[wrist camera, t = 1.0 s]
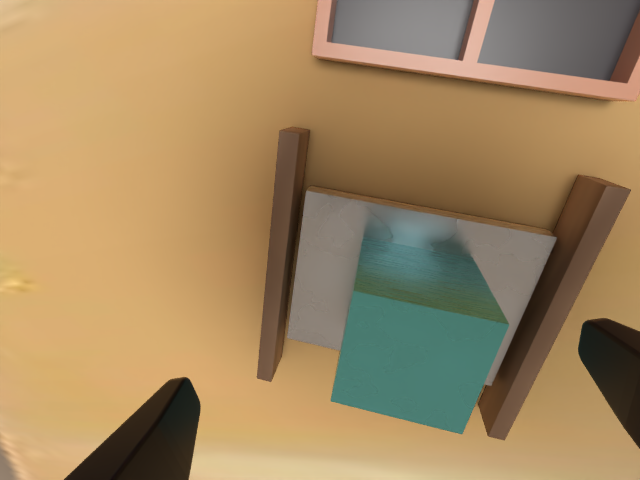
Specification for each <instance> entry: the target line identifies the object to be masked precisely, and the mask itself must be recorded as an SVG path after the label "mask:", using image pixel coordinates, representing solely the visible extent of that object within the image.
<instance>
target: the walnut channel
mask: <svg viewBox="0 0 640 480" xmlns="http://www.w3.org/2000/svg"><path fill="white" fill-rule="evenodd" d="M309 133H310V130H308V129H302V128H296V127H290V128H287V129H283V130H280V131H279V142H278V153H277V164H276V175H275V186H274V197H273V208H272V219H271V229H270V240H269V251H268V262H267V273H266V284H265V295H264V306H263V317H262V328H261V339H260V350H259V360H258V371H257V378H258V379H262V380H266V381H270V382H271V381H272V379H273V376H274V374H275V372H276V369H277V367H278V364H279V362H280V359H281V357H282V350H283V342H284V334H285V326H286V318H287V310H288V302H289V293H290V285H291V277H292V269H293V261H294V253H295V245H296V237H297V229H298V221H299V213H300V205H301V197H302V189H303V181H304V173H305V165H306V157H307V149H308V141H309ZM630 191H631V190H630V189H627V188H625V187H622V186H619V185H616V184H614V183H611V182H608V181H606V180H603V179H600V178H595V177H589V176H583V175H578V177H577V179H576V181H575V184H574V186H573V188H572V191H571V193H570V195H569V198H568V200H567V202H566V204H565V207H564V209H563V211H562V214H561V216H560V218H559V220H558V223H557V225H556V227H555V230H554V232H553V234H554V235H555V236H556V237H557V239H556V242H555V244H554V246H553V248H552V251H551V253H550V255H549V257H548V260H547V262H546V264H545V266H544V269H543V271H542V273H541V275H540V278H539V280H538V282H537V284H536V287H535V289H534V291H533V293H532V296H531V298H530V300H529V302H528V305H527V307H526V309H525V311H524V314H523V316H522V318H521V320H520V323H519V325H518V327H517V329H516V332H515V334H514V336H513V338H512V341H511V343H510V345H509V347H508V350H507V352H506V354H505V356H504V359H503V361H502V363H501V365H500V368H499V370H498V372H497V374H496V377H495V379H494V381H493V383H492V386H489V385H486V388H485V390H484V392H483V394H482V397H481V399H480V401H479V404H478V405H479V408H480V412H481V415H482V418H483V422H484V425H485V428H486V432H487V435H488V436H489V437H493V438H497V439H501V440H505V438H506V436H507V435H508V433H509V431H510V429H511V427H512V425H513V423H514V421H515V419H516V417H517V415H518V413H519V411H520V409H521V407H522V405H523V403H524V401H525V399H526V397H527V395H528V393H529V391H530V389H531V387H532V385H533V383H534V381H535V379H536V377H537V375H538V373H539V371H540V369H541V367H542V365H543V363H544V361H545V359H546V357H547V355H548V353H549V351H550V349H551V347H552V345H553V344H554V342H555V340H556V338H557V336H558V334H559V332H560V330H561V328H562V326H563V324H564V322H565V320H566V318H567V316H568V314H569V312H570V310H571V308H572V306H573V304H574V302H575V300H576V298H577V296H578V294H579V292H580V290H581V288H582V286H583V284H584V282H585V280H586V278H587V276H588V274H589V272H590V270H591V268H592V266H593V264H594V262H595V260H596V258H597V256H598V254H599V253H600V251H601V249H602V247H603V245H604V243H605V241H606V239H607V237H608V235H609V233H610V231H611V229H612V227H613V225H614V223H615V221H616V219H617V217H618V215H619V213H620V211H621V209H622V207H623V205H624V203H625V201H626V199H627V197H628V195H629V193H630Z"/></svg>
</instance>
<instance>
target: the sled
mask: <svg viewBox="0 0 640 480" xmlns="http://www.w3.org/2000/svg"><path fill="white" fill-rule="evenodd" d="M556 239H557V237H556V236H555V235H554V234H552V233H551V232H550V231H549V230H547V229H542V228H537V227H531V226H526V225H521V224H515V223H510V222H504V221H499V220H494V219H488V218H483V217H477V216H472V215H466V214H461V213H456V212H450V211H445V210H439V209H434V208H429V207H423V206H418V205H412V204H407V203H402V202H396V201H391V200H385V199H380V198H374V197H369V196H364V195H358V194H353V193H347V192H342V191H337V190H331V189H326V188H320V187H315V186H310V187H309V188H308V189H307V190H306V195H305V203H304V211H303V219H302V226H301V234H300V242H299V250H298V258H297V265H296V273H295V281H294V289H293V296H292V304H291V312H290V320H289V327H288V335H287V338H289V339H293V340H297V341H302V342H306V343H310V344H314V345H319V346H323V347H327V348H331V349H336V350H340V353H339V359H338V364H337V369H336V375H335V380H334V385H333V391H332V396H331V401H332V402H336V403H340V404H344V405H348V406H352V407H356V408H359V409H363V410H367V411H371V412H375V413H379V414H383V415H387V416H391V417H395V418H399V419H403V420H407V421H411V422H415V423H419V424H423V425H427V426H431V427H435V428H439V429H443V430H447V431H451V432H455V433H459V434H463V431H464V429H465V427H466V424H467V422H468V420H469V417H470V415H471V413H472V410H473V408H474V406H475V404H476V401H477V399H478V397H479V394H480V392H481V390H482V387H483V385H484V384H485V385H489V386H492V383H493V381H494V379H495V377H496V374H497V372H498V370H499V368H500V365H501V363H502V361H503V359H504V356H505V354H506V352H507V350H508V347H509V345H510V343H511V341H512V338H513V336H514V334H515V332H516V329H517V327H518V325H519V323H520V320H521V318H522V316H523V314H524V311H525V309H526V307H527V305H528V302H529V300H530V298H531V296H532V293H533V291H534V289H535V287H536V284H537V282H538V280H539V278H540V275H541V273H542V271H543V269H544V266H545V264H546V262H547V260H548V257H549V255H550V253H551V251H552V248H553V246H554V244H555V242H556Z"/></svg>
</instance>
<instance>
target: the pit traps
mask: <svg viewBox="0 0 640 480" xmlns="http://www.w3.org/2000/svg"><path fill="white" fill-rule="evenodd" d="M312 55H313V56H314V57H316V58H318V59H322V60H329V61H336V62H343V63H350V64H357V65H364V66H370V67H377V68H384V69H391V70H398V71H405V72H412V73H419V74H426V75H433V76H440V77H447V78H454V79H461V80H468V81H475V82H482V83H489V84H495V85H502V86H509V87H516V88H523V89H530V90H537V91H544V92H551V93H558V94H565V95H572V96H579V97H586V98H593V99H600V100H607V101H636V99H637V97H638V95H639V93H640V0H318V5H317V14H316V22H315V31H314V40H313V48H312Z"/></svg>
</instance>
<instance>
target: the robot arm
mask: <svg viewBox="0 0 640 480" xmlns="http://www.w3.org/2000/svg"><path fill="white" fill-rule="evenodd" d="M578 352H579V356H580V359H581V361H582V362H583V364H584V365H585V367H586V369H587V370H588V372H589V373H590V375H591V377H592V378H593V380H594V381H595V383H596V385H597V386H598V388H599V389H600V391H601V393H602V394H603V396H604V397H605V399H606V401H607V402H608V404H609V405H610V407H611V409H612V410H613V412H614V413H615V415H616V416H617V418H618V419H619V421H620V422H621V424H622V425H623V427H624V428H625V430H626V431H627V432H628V434H629V435H630V437H631V438H632V439H633V441H634V442H635V443H636V445H637V446H638V447H639V449H640V331H637V330H635V329H632V328H630V327H627V326H625V325H622V324H620V323H617V322H615V321H612V320H610V319H606V318H600V319H593V320H587V321H585V322H584V323H583V325H582V330H581V335H580V341H579V347H578ZM199 416H200V401H199V398H198V396H197V394H196V392H195V390H194V387H193V385H192V383H191V381H190V379H188V378H187V377H182V378H175V379H171V380H169V381H168V382H166V383H165V384H164V385H163V386H162V387H161V388H160V389H159V390H158V391H157V392H156V393H155V394H154V395H153V396H152V397H151V398H149V399H148V400H147V401H146V402H145V403H144V404H143V405H142V406H141V407H140V408H139V409H138V410H137V411H136V412H135V413H134V414H133V415H132V416H130V417H129V418H128V419H127V420H126V421H125V422H124V423H123V424H122V425H121V426H120V427H119V428H118V429H117V430H116V431H115V432H114V433H113V434H111V435H110V436H109V437H108V438H107V439H106V440H105V441H104V442H103V443H102V444H101V445H100V446H99V447H98V448H97V449H96V450H95V451H93V452H92V453H91V454H90V455H89V456H88V457H87V458H86V459H85V460H84V461H83V462H82V463H81V464H80V465H79V466H78V467H77V468H76V469H74V470H73V471H72V472H71V473H70V474H69V475H68V476H67V477H66V478H65V479H64V480H189V475H190V469H191V464H192V458H193V452H194V446H195V440H196V434H197V428H198V422H199Z"/></svg>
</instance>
